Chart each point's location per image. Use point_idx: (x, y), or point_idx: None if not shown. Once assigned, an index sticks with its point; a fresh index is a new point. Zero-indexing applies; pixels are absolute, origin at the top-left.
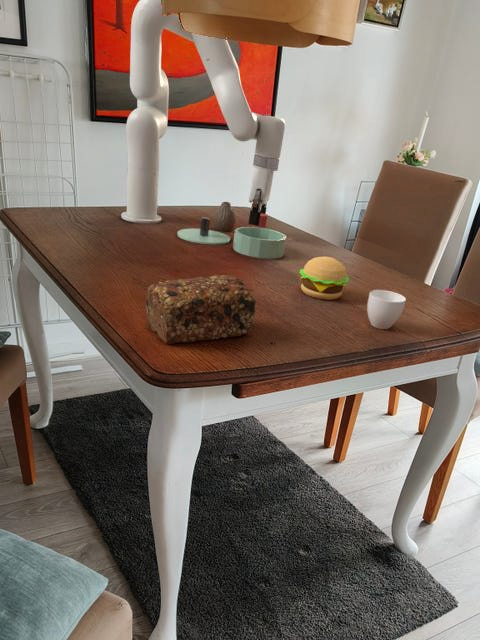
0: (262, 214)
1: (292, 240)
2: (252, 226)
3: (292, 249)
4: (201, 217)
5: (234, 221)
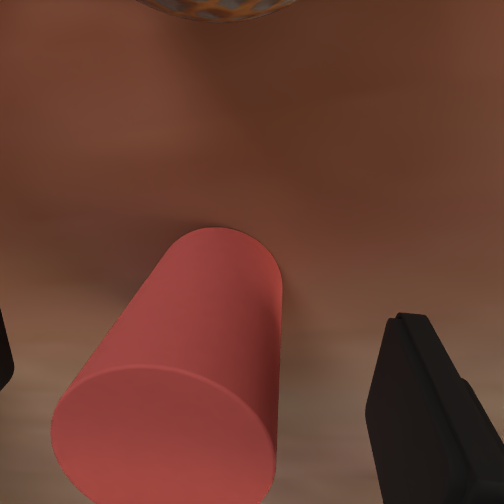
0: (184, 481)
1: (308, 501)
2: (152, 280)
3: (65, 492)
4: None
5: (169, 12)
